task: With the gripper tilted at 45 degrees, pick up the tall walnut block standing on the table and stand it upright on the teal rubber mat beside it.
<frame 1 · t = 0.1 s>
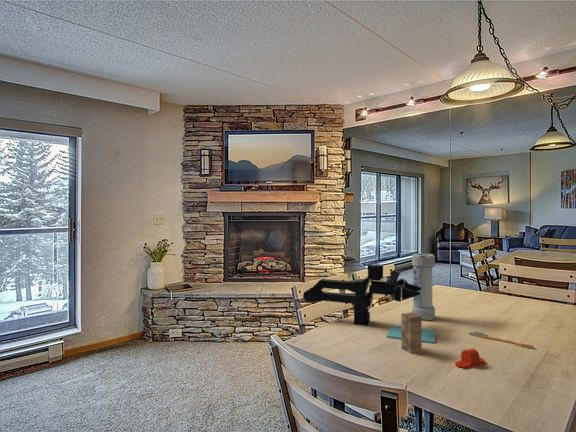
hand: (420, 291, 153), 17 cm above the table, tool horizontal, fingers open, 9 cm apart
mat: (411, 334, 147), on the table
axe: (500, 340, 141), on the table
canister: (423, 317, 169), on the table
bracket: (470, 365, 119), on the table
walnut block: (411, 349, 131), on the table
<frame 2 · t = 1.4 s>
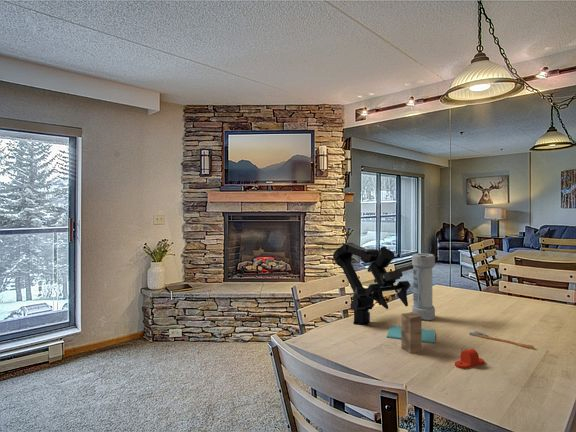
hand: (397, 307, 139), 14 cm above the table, tool tilted 45°, fingers open, 9 cm apart
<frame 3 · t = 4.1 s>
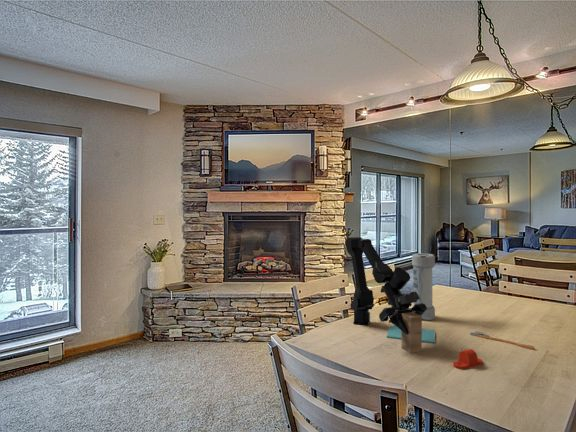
hand: (413, 333, 130), 7 cm above the table, tool tilted 45°, fingers closed on walnut block, 5 cm apart
walnut block: (411, 349, 131), on the table, touching gripper
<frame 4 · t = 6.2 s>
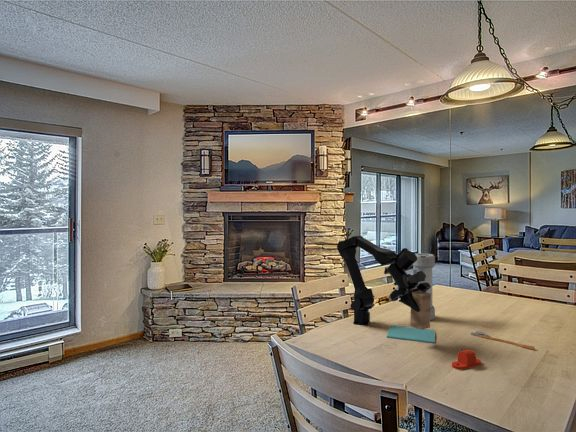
hand: (423, 310, 135), 13 cm above the table, tool tilted 45°, fingers closed on walnut block, 5 cm apart
walnut block: (419, 326, 136), point 7 cm above the table, touching gripper
when the fingers open (9 cm above the table, at t = 8.4 s): walnut block drops 1 cm, resting on mat.
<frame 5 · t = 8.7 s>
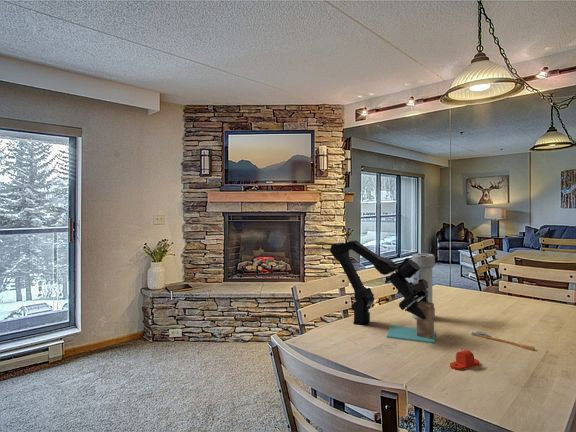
hand: (428, 316, 143), 9 cm above the table, tool tilted 45°, fingers open, 8 cm apart
walnut block: (425, 335, 144), point 1 cm above the table, touching mat
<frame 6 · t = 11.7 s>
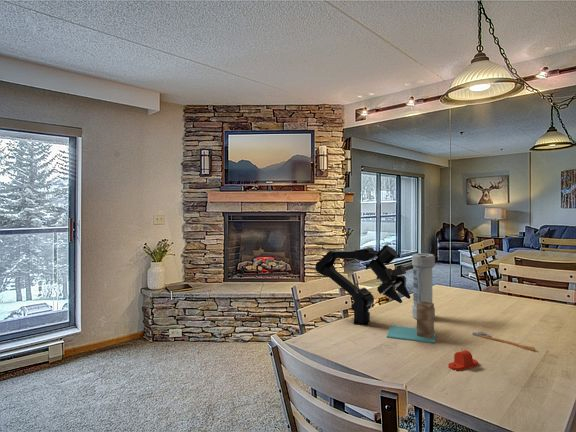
hand: (405, 300, 149), 14 cm above the table, tool tilted 45°, fingers open, 9 cm apart
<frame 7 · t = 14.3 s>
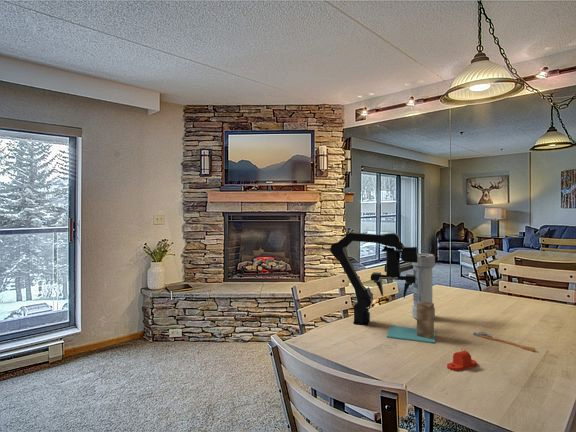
hand: (393, 297, 157), 13 cm above the table, tool pointing down, fingers open, 9 cm apart
at the end: walnut block inside the target area on the mat (5.6 cm from its centre), point 0.6 cm above the mat's base; walnut block tilted 0°; the gripper is holding nothing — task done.
